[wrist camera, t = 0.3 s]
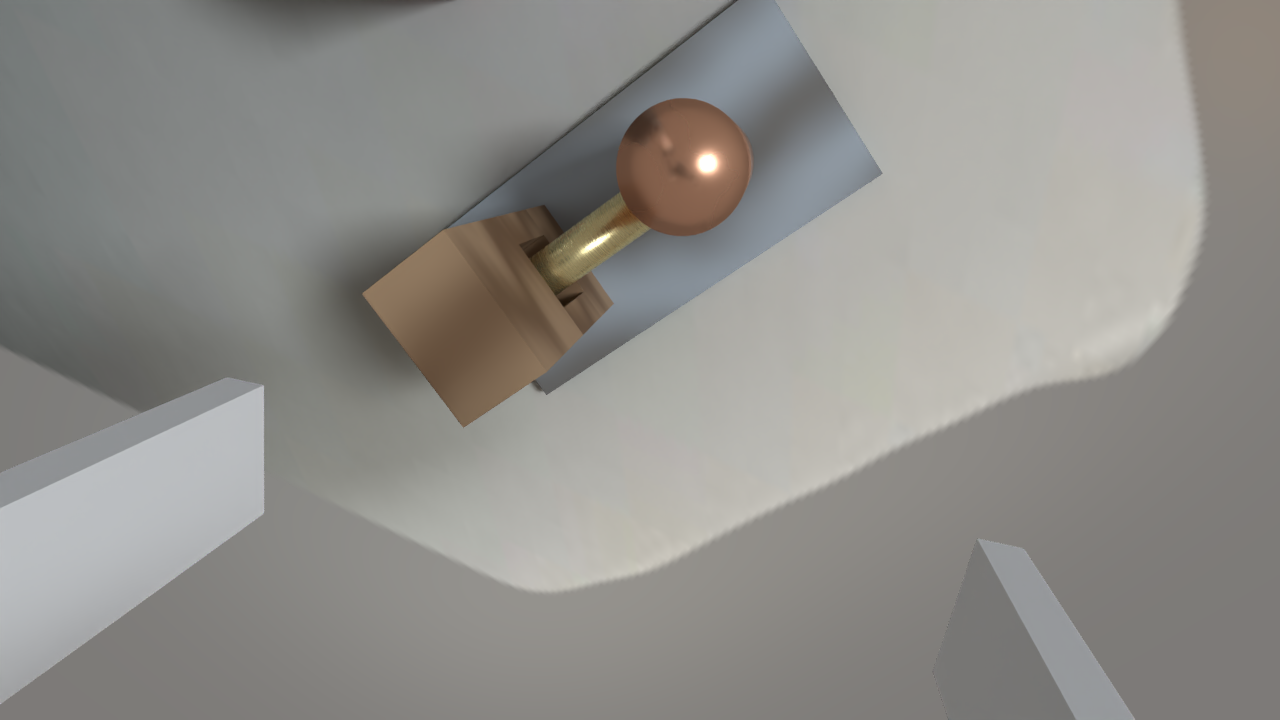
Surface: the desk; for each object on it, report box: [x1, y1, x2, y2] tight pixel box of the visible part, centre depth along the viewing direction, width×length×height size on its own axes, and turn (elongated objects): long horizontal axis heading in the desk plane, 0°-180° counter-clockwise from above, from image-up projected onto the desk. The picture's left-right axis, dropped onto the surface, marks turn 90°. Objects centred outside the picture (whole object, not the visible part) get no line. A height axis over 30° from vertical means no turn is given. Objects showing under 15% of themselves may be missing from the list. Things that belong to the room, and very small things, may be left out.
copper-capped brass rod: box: [529, 98, 754, 296], centre depth 31 cm, size 4×15×11 cm, turn 125°
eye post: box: [362, 0, 883, 428], centre depth 30 cm, size 10×20×13 cm, turn 125°
